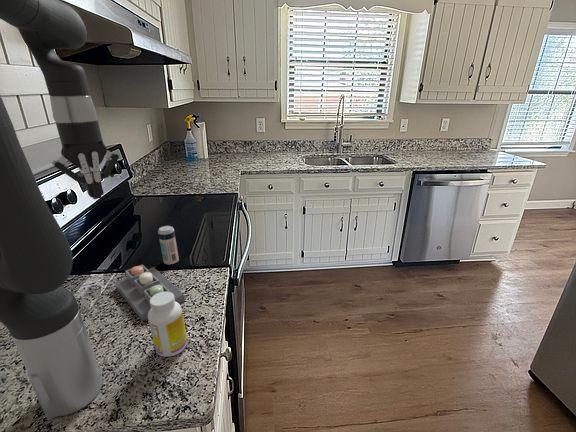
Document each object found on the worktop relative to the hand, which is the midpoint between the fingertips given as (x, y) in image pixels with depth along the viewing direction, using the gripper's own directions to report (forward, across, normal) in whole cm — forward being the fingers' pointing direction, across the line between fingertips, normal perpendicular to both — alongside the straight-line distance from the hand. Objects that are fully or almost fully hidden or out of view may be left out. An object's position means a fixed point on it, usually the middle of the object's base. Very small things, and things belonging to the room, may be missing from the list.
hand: (97, 197), depth 72 cm
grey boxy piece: (+29, +6, -2) cm, 30 cm away
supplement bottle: (+29, +2, -24) cm, 38 cm away
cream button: (+26, +6, -2) cm, 27 cm away
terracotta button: (+27, +6, +4) cm, 28 cm away
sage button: (+27, +6, -8) cm, 29 cm away
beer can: (+29, +18, +10) cm, 36 cm away
